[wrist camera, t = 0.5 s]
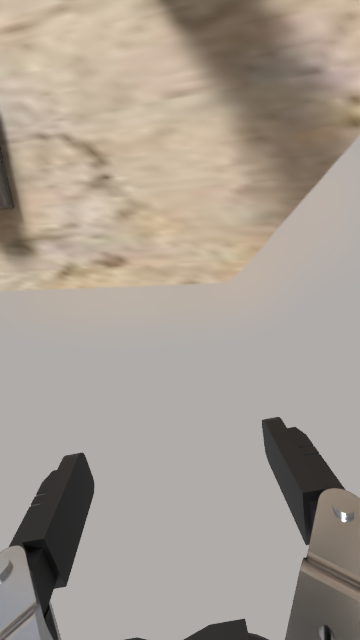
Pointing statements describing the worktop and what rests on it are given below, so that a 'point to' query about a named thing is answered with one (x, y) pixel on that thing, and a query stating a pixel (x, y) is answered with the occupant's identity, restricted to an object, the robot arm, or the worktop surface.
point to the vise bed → (4, 187)
